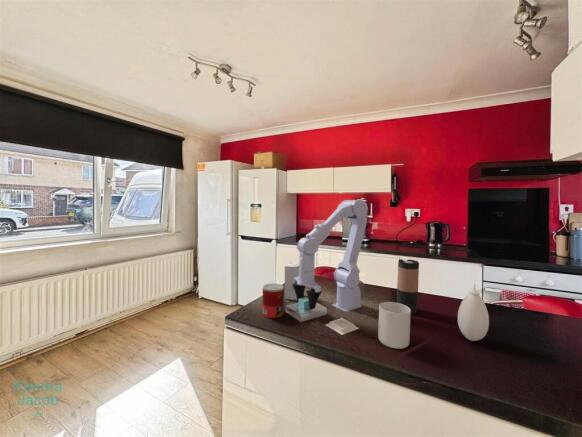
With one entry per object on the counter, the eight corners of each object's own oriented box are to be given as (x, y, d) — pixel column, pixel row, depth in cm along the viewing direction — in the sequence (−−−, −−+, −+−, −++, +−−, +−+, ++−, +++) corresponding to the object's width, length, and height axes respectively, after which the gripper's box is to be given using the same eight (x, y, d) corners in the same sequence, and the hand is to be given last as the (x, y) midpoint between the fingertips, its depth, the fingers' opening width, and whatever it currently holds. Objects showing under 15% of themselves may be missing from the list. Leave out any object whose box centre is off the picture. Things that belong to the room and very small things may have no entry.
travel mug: (412, 316, 96) (414, 264, 95) (392, 309, 102) (394, 260, 101) (420, 310, 101) (422, 261, 100) (401, 304, 107) (403, 258, 106)
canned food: (280, 320, 90) (281, 290, 90) (259, 318, 92) (259, 288, 91) (285, 312, 98) (286, 284, 97) (265, 310, 100) (266, 282, 99)
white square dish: (341, 320, 91) (342, 316, 91) (358, 330, 85) (359, 325, 85) (325, 326, 87) (325, 321, 87) (341, 336, 80) (341, 331, 80)
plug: (305, 312, 98) (305, 297, 98) (311, 315, 95) (311, 299, 95) (298, 314, 96) (298, 298, 96) (303, 317, 93) (304, 301, 93)
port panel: (310, 306, 104) (310, 299, 103) (326, 315, 95) (326, 307, 95) (285, 313, 97) (285, 305, 97) (300, 323, 89) (300, 315, 88)
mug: (411, 353, 72) (413, 315, 71) (378, 348, 74) (379, 311, 73) (405, 333, 83) (406, 300, 82) (376, 329, 86) (378, 297, 85)
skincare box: (297, 300, 110) (297, 267, 109) (283, 299, 111) (284, 266, 110) (301, 294, 118) (301, 262, 117) (288, 293, 119) (289, 261, 118)
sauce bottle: (451, 332, 84) (454, 279, 83) (475, 333, 84) (478, 280, 83) (467, 345, 76) (470, 287, 75) (493, 346, 76) (497, 287, 75)
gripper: (287, 267, 99) (287, 300, 100) (310, 276, 87) (309, 314, 88) (302, 264, 103) (301, 297, 104) (325, 273, 91) (324, 310, 92)
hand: (306, 305), depth 96 cm, fingers open, 7 cm apart
